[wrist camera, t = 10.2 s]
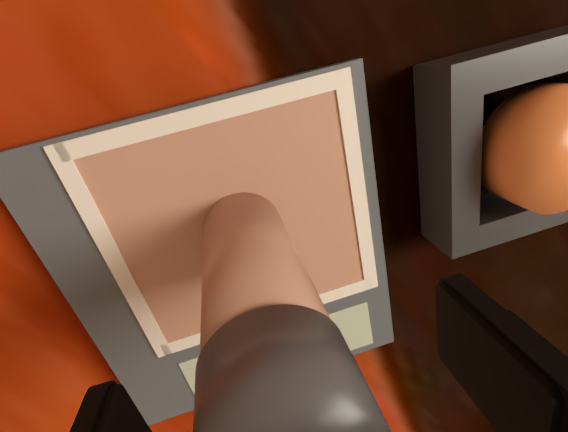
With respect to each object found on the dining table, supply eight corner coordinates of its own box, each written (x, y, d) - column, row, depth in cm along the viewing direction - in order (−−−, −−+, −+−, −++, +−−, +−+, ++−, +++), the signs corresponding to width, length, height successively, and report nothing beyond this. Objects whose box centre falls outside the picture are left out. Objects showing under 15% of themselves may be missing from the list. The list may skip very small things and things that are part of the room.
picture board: (354, 58, 16) (364, 58, 15) (387, 331, 24) (395, 343, 23) (-11, 153, 15) (-28, 159, 14) (150, 411, 23) (147, 428, 22)
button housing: (587, 19, 18) (654, 10, 15) (561, 190, 22) (610, 208, 20) (412, 65, 17) (450, 65, 14) (421, 235, 21) (452, 259, 19)
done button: (585, 69, 17) (643, 69, 15) (568, 180, 19) (615, 195, 17) (475, 99, 16) (518, 104, 14) (473, 210, 19) (508, 229, 17)
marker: (272, 180, 17) (389, 380, 6) (290, 250, 19) (405, 502, 8) (189, 204, 16) (153, 464, 6) (216, 274, 18) (228, 572, 7)
